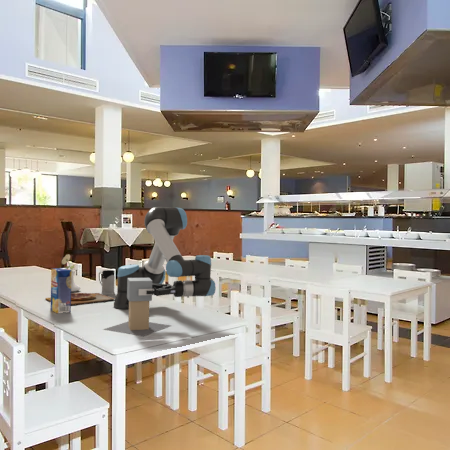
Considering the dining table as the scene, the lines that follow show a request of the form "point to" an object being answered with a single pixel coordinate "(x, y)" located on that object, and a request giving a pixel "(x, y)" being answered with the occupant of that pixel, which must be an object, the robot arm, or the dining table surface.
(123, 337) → the dining table surface
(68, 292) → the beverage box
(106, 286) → the grey metal pitcher
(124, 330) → the charcoal mat
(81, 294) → the pizza
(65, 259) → the flower in vase
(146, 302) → the carton base
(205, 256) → the robot arm
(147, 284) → the grey matte cube
